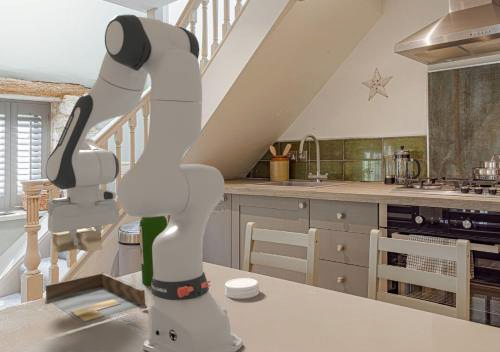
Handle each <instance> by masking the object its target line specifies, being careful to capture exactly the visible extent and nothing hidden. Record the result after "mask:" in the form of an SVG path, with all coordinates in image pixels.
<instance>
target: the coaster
mask: <svg viewBox="0 0 500 352" xmlns="http://www.w3.org/2000/svg"><path fill="white" fill-rule="evenodd" d="M259 282H260V281H258V280H256V279H255V278H249V277H238V278H233V279H230V280H227V281H226V282H225V284H224V291H225V292H224V294H225V296H226V297H228V299H229V298H230V299H234V300H246V299H247V300H248V299H253V298H255V297H257V296H258V295H259V294H260V290H259V289H260V283H259Z"/></svg>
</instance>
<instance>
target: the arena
mask: <svg viewBox="0 0 500 352" xmlns="http://www.w3.org/2000/svg"><path fill="white" fill-rule="evenodd" d="M145 293H146V292H145V289H143V288H142V287H141V288H140V287H139V286H136V285H133V284H131V283H128V282H126V281H124V280H122V279H120V278H117V277H115V276H112V275H110V274H108V273H105V272H99V273H95V274H90V275H86V276H82V277H81V276H80V277H76V278H73V279H72V278H71V279H68V280H63V281H58V282H55V283H49V284H46V285H45V298H46V299H45V300H47V301H49V302H50V303H52V304H53V305H55V306H56V307H57V308H59V309H60V310H61V311H63V312H65V313H66V314H67V315H69V316H70V317H72V318H73V319H75V320H76V321H77V322H78V323H80V324H84V323H87V322H88V323H89V322H91V321H94V320H97V319H101V318H105V317H108V316H110V315H114V314H117V313H122V312H124V311H125V312H126V311H128V310H132V309H134V308H139V307H141V306H145V305H146V297H145V296H146V294H145Z"/></svg>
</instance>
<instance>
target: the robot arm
mask: <svg viewBox="0 0 500 352" xmlns="http://www.w3.org/2000/svg"><path fill="white" fill-rule="evenodd" d="M104 45H105V50H106V52H105V54H104V57H103V59H102V63H101V66H100V70H99V73H98V75H97V78H96V80H95V82H94V84H93V85H92V86H91V88H90V89H89V90H88V91H87V92H86V93H85V94H82V95H81V96H79V98H78V99H77V101H76V102H75V104H74V106H73V108H72V110H71V113H70V115H69V116H68V119H67V121H66V123H65V126H64V128H63V130H62V133H61V135H60V137H59V140H58V142H57V144H56V146H55V148H54V149H53V151H52V153H51V154H50V155H49V157H48V159H47V161H46V164H45V165H46V166H45V175H46V178H47V180H48V181H49V182H50V183H51V184H52V185H53V186H55V187H56V188H57V189H59V190H66V197H61V198H53V199H52V200H51V201H49V202H48V204H47V205H46V207H47V214H48V215H47V229H48V231H49V232H50V233H59V232H65V231H69V234H70V236H71V237H72V239H73V242H74V245H75V246H78V245H81V239H79V238H77V236H76V235H75V234H77V230H78V229H88V228H94V230H95V231H99V232H101V233H102V231H103V226H107V225H113V224H118V223H119V221H120V218H121V217H120V208H119V205H120V206H121V209H123V211H124V212H125V213H126V214H127V215H129V216H130V217H139V218H142V217H150V218H152V217H159V216H165V217H166V216H170V218H169V221H168V222H167V223H168V225H167V227H166V228H165V230H164V231H163V232H161V233H160V234H159V235H158V236H157V237H156V238H155V240H154V242H153V245H152V255H153V275H154V276H153V277H152V283H151V293H152V295H153V296H152V297H153V298H152V301H151V304H150V306H149V307H148V312H147V313H148V314H147V319H148V320H147V339H146V340H145V341H144V342H143V346H142V349H143V350H144V351H146V352H238V351H239V350H240V349H241V347H243V344H244V343H243V339H242V338H241V337H239V336H237V335H236V334H235V333H234V332H232V330H231V323H230V319H229V316H228V311H227V309H226V308H225V307H221V306H220V304H219V303H218V302H217V300H216V299H215V297H213V295H212V294H211V293H210V291H209V290H210V287H211V286H212V284H210V283H211V280H208V279H207V277H206V274H205V272H204V267H203V258H204V257H203V249H204V248H203V247H204V245H203V244H204V243H203V241H204V235H205V231H206V228H207V224H208V221H209V218H210V216H211V215H212V213H213V211H214V210H215V208H216V207H217V206H218V205H219V203H220V202H221V201H222V200H223V197H224V194H225V190H226V183H225V180H224V179H225V178H224V176H223V175H222V172H221V171H220V170H219V169H217V168H216V167H215V166H211V165H208V164H207V165H206V164H202V163H190V164H189V163H187V164H186V163H185V164H181V163H182V162H183V158H184V156H185V155H186V153H187V151H188V150H190V148H192V147H193V146H195V145H196V144H197V143H198V142H199V141H200V139H201V135H202V117H203V115H202V114H203V112H202V111H203V109H202V108H203V84H202V83H203V82H202V74H201V67H200V63H199V55H200V43H199V41H198V38H197V37H196V35H195V34H194V33H192V31H190V30H189V29H186V28H184V27H181V26H176V25H173V24H172V23H167V22H164V21H162V20H159V19H155V18H152V17H143V16H137V15H135V14H127V13H125V14H124V13H123V14H118V15H115V16H114V17H113V18H111V20H109V23H108V24H107V26H106V28H105V34H104ZM148 75H149V77H150V105H149V106H150V107H149V108H150V109H149V110H150V112H149V114H150V115H149V125H148V126H149V128H148V135H147V136H148V137H147V140H146V144H145V146H144V149H143V151H142V153H141V155H140V156H139V158H138V159H137V161H136V162H135V163H134V165H133V166H132V167H130V168H129V169H128V170H127V171H126V172H124V174H123V175H122V177H121V178H120V180H119V183H118V185H117V191H116V192H117V193H116V192H114V191H110V190H105V189H102V188H100V185H106V184H110V183H113V182H114V181H115V180H116V179H117V178H118V176H119V173H120V162H119V158H117V156H116V154H115V153H113V151H111V150H107V149H105V148H102V147H100V146H98V145H97V144H96V141H95V140H93V139H90V138H86V137H87V135H88V133H89V132H90V131H91V129H92V128H94V127H95V126H96V125H98V124H100V123H103V122H106V121H109V120H111V119H114V118H119V117H122V116H125V115H127V114H129V113H131V112H132V111H134V110H135V109H136V107H137V106H138V105H139V103H140V101H141V99H142V96H143V92H144V90H145V86H146V82H147V78H148ZM116 198H117V200H118V201H116V200H115V199H116ZM118 203H119V204H118Z"/></svg>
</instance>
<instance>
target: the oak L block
mask: <svg viewBox="0 0 500 352" xmlns="http://www.w3.org/2000/svg"><path fill="white" fill-rule="evenodd" d="M51 233H52V232H51ZM51 235H52V247H53V249H52V250H53V251H54V252H57V253H64V252H68V251H73V250H80V251H82V252H88V253H89V252H96V251H101V250H103V245H102V244H103V243H102V241H103V240H102V231H101V232H99V231H96V230H95V229H94V230H92V229H88V228H84V229H78V230H77V234H75V235H76V236H77V238H79V239H81V245H78V246H75V245H74V242H73V239H72V237H71V236H70V234H69V231H65V232H59V233H52V234H51Z"/></svg>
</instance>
